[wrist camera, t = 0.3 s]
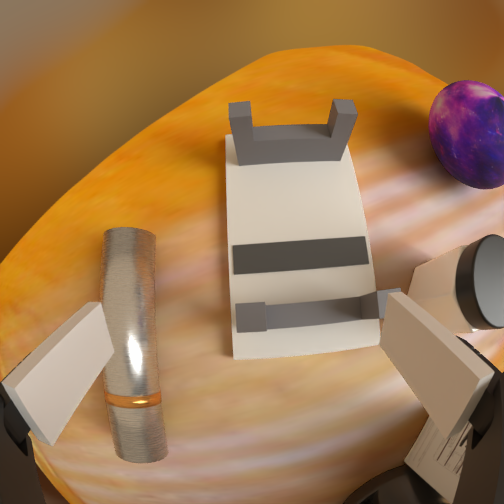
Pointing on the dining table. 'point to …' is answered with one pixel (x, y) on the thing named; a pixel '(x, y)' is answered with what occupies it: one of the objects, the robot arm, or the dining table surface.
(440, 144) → the decorative orb
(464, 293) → the jar
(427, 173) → the dining table surface
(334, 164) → the cradle stand
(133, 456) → the steel tube
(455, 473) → the supplement box
